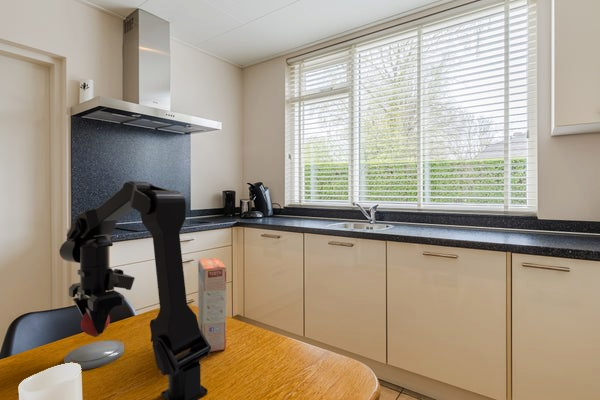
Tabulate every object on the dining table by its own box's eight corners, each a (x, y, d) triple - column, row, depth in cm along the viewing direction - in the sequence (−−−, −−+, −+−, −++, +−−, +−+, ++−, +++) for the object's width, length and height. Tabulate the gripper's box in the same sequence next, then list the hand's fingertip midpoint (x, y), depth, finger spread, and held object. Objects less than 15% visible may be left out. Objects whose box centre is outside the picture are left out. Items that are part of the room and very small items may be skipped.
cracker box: (227, 350, 79) (227, 266, 79) (202, 354, 77) (201, 268, 77) (219, 328, 92) (219, 256, 92) (197, 332, 90) (197, 258, 90)
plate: (132, 355, 77) (132, 348, 77) (73, 376, 68) (72, 369, 68) (113, 340, 85) (113, 335, 85) (57, 358, 76) (57, 351, 76)
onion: (95, 343, 73) (95, 308, 73) (74, 341, 74) (74, 306, 74) (115, 332, 78) (115, 300, 78) (95, 330, 80) (95, 298, 80)
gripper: (146, 264, 76) (147, 329, 76) (116, 255, 88) (116, 312, 88) (93, 273, 68) (94, 346, 68) (67, 262, 80) (68, 324, 80)
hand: (95, 330), depth 76 cm, fingers closed on onion, 6 cm apart
